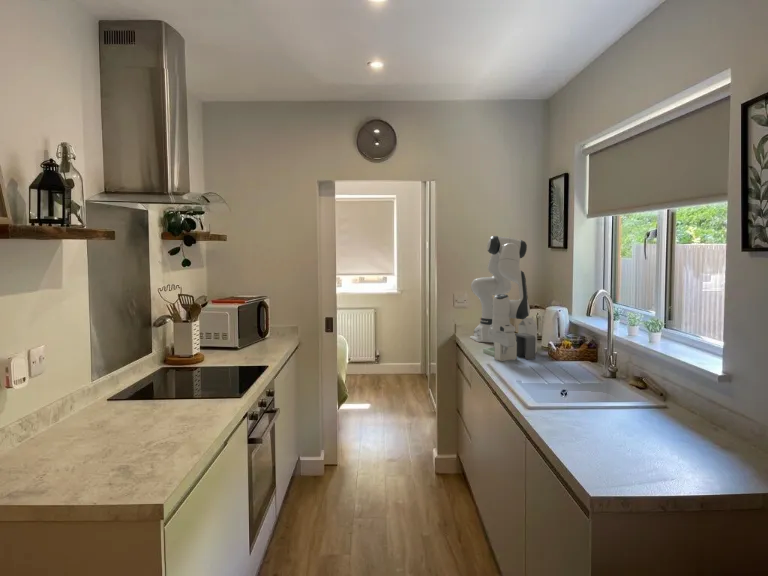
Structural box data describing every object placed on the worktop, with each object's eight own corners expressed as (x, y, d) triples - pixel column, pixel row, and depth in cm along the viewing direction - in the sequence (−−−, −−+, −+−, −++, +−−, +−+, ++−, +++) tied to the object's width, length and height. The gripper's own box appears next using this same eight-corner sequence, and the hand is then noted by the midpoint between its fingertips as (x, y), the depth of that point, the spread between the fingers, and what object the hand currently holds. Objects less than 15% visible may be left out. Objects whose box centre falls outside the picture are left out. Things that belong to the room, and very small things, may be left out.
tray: (483, 352, 301) (483, 348, 301) (507, 350, 307) (507, 346, 307) (494, 356, 291) (494, 352, 291) (519, 354, 297) (519, 349, 296)
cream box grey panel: (494, 358, 285) (494, 340, 284) (510, 357, 289) (511, 338, 288) (500, 360, 281) (500, 341, 280) (516, 359, 284) (516, 340, 283)
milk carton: (518, 351, 303) (518, 317, 302) (528, 350, 306) (528, 316, 305) (526, 353, 297) (527, 319, 295) (536, 352, 300) (537, 318, 298)
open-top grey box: (514, 355, 292) (515, 333, 291) (524, 354, 294) (524, 332, 293) (525, 359, 283) (525, 336, 282) (535, 358, 286) (535, 335, 285)
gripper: (484, 323, 290) (484, 349, 292) (506, 329, 272) (506, 357, 273) (495, 322, 293) (494, 348, 294) (517, 328, 274) (517, 355, 275)
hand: (500, 352), depth 283 cm, fingers closed on cream box grey panel, 5 cm apart
